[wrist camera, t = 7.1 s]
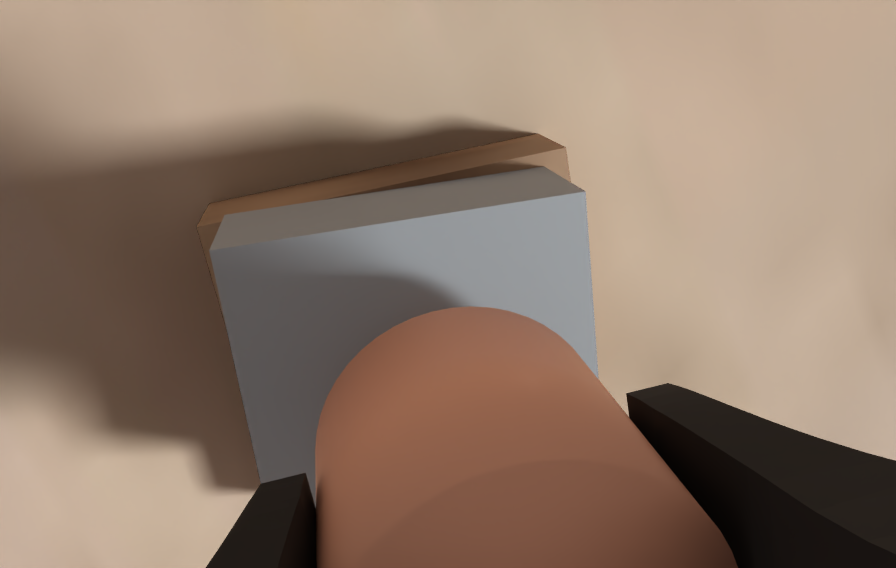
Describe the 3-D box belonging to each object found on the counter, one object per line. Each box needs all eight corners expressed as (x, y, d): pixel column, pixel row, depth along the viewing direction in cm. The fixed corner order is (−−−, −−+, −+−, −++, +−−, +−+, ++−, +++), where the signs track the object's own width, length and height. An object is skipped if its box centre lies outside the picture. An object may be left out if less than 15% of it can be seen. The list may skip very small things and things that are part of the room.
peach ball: (356, 602, 13) (378, 872, 9) (279, 350, 12) (261, 534, 8) (622, 526, 14) (761, 751, 9) (579, 273, 12) (722, 406, 8)
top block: (284, 498, 17) (281, 575, 15) (224, 215, 15) (209, 250, 13) (567, 444, 18) (607, 509, 15) (543, 166, 16) (585, 191, 13)
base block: (292, 482, 20) (290, 545, 17) (211, 199, 17) (196, 227, 15) (574, 413, 20) (609, 465, 18) (532, 130, 18) (565, 147, 16)
